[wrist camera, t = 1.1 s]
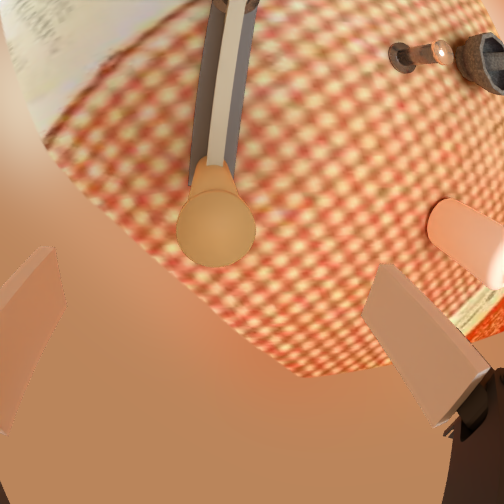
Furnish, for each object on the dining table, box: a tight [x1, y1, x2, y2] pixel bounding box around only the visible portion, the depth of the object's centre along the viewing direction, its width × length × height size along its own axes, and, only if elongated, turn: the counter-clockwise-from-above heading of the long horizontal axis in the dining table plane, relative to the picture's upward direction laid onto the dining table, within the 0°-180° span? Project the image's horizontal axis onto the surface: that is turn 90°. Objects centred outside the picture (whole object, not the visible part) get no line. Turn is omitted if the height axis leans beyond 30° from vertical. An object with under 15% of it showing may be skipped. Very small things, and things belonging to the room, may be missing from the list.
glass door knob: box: [389, 40, 454, 73], centre depth 24 cm, size 4×4×9 cm
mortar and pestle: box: [455, 32, 504, 96], centre depth 22 cm, size 11×9×12 cm
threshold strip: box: [188, 0, 258, 186], centre depth 27 cm, size 24×5×1 cm, turn 173°
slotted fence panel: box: [176, 0, 256, 267], centre depth 20 cm, size 21×4×18 cm, turn 173°
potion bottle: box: [427, 198, 504, 290], centre depth 31 cm, size 8×8×18 cm
